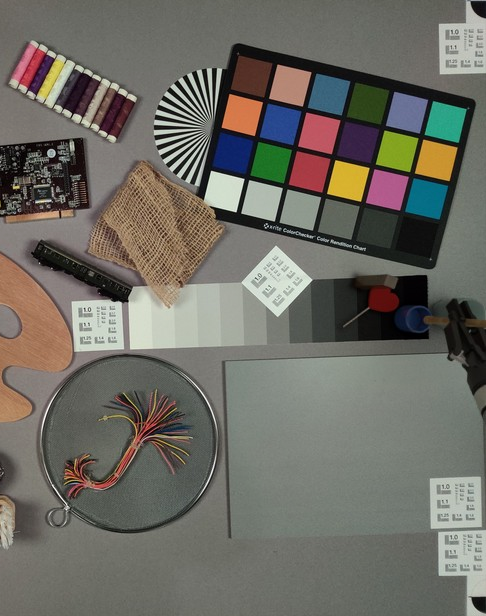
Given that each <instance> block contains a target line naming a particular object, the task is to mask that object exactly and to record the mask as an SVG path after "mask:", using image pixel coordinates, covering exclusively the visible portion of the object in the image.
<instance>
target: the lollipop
mask: <svg viewBox="0 0 486 616" xmlns="http://www.w3.org/2000/svg"><path fill="white" fill-rule="evenodd" d="M368 292H369V293H368V297H367V298H368V299H367V300H368V301H367V306H368V307H366V308H365V309H364V310H363V311H361V312H360V313H358V314H357V315H356V316H354V317H353V318H352V319H350V320H349V321H347V322H346V323H344V325H342V327H343V328H345V327H346V326H347V325H350V323H351V322H353V321H354V320H356V319H358V317H360V316H361V315H362V314H364V313H365V312H367V311H368V310H373V311H376V312H380V313H381V312H382V313H389V312H393V311H395V310H396V309H397V308H398V307H399V304H400V299H399V297H398V296H397V294H396V293H393V292H391V289H369V291H368Z"/></svg>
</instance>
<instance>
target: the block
mask: <svg viewBox="0 0 486 616" xmlns="http://www.w3.org/2000/svg"><path fill="white" fill-rule="evenodd" d="M398 280H399V277H397V276H394V275H391V274H389V273H385V274H384V273H383V274H368V275H356V276H355V279H354V281H353V284H352V287H353V288H357V289H360V290H364V291H365V290H370V289H390V290H395V288H396V286H397V283H398Z"/></svg>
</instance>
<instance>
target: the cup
mask: <svg viewBox="0 0 486 616" xmlns="http://www.w3.org/2000/svg"><path fill="white" fill-rule="evenodd" d="M453 298H455V299H457V301H458V303H459V304H460V303H461V302H462V301H463V300H464V301H467V303H468V305H469V307H470V309H471V311H472V313H473V315H475V316H476V318H477V319H479V320H486V307H485V305H484V304H483V303H482V302H481V301H480V300H478V299H475V298H470V297H450V298H445V299H442V300H439V301H438V302H437V303H435V304H434V305H433V308H432V311H431V314H432V316H433V317H445V318H448V311H447V309H446V305H447V304H448V303H449V302H450V301H451V300H452V299H453ZM436 326H438V327H440V328H442V329H444V328H445V327H446V326H447V325H442V324H436ZM470 331H471V329H470V330H469V332H470Z"/></svg>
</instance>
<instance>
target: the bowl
mask: <svg viewBox="0 0 486 616" xmlns="http://www.w3.org/2000/svg"><path fill="white" fill-rule="evenodd" d="M425 316H432V311H431V310H430V309H429V308H427V307H426V306H424V305H415V304H413V305H411V304H410V305H409V304H407V305H403V306H400V307H399V308H398V309H397V310H396V311H395V313H394V320H393V321H394V324H395V326H396V327H397V328H398V329H399V331H400V330H401V331H403V332H408V333H416V334H421V333H425V332H426V331H428V330H429V329H430V328H431V326H432V324H425V323H424V317H425Z"/></svg>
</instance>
